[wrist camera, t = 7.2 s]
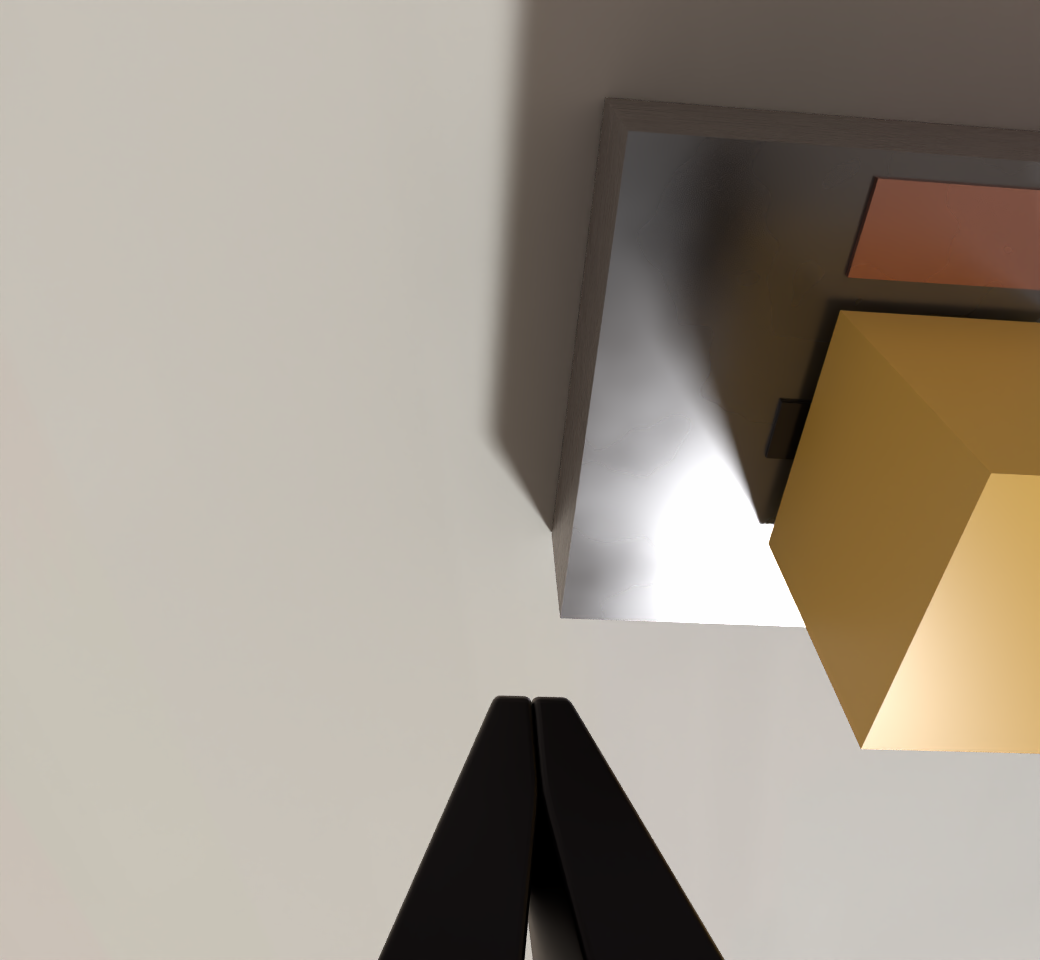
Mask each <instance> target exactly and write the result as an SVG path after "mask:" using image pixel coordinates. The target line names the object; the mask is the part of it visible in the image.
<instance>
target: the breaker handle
mask: <svg viewBox="0 0 1040 960" xmlns="http://www.w3.org/2000/svg"><path fill="white" fill-rule="evenodd" d="M768 545H769V547H770V550H771V552H772V554H773V556H774V558H775V561H776V563H777V565H778V567H779V569H780V572H781V574H782V576H783V578H784V580H785V583H786V585H787V587H788V589H789V592H790V594H791V596H792V598H793V600H794V603H795V605H796V607H797V609H798V611H799V614H800V616H801V618H802V620H803V622H804V625H805V627H806V629H807V631H808V633H809V636H810V638H811V640H812V642H813V644H814V647H815V649H816V651H817V653H818V655H819V658H820V660H821V662H822V664H823V666H824V669H825V671H826V673H827V675H828V677H829V680H830V682H831V684H832V686H833V688H834V691H835V693H836V695H837V697H838V699H839V702H840V704H841V706H842V708H843V710H844V713H845V715H846V717H847V719H848V721H849V724H850V726H851V728H852V730H853V732H854V735H855V737H856V739H857V741H858V744H859V746H860V748H861V749H876V750H916V751H956V752H996V753H1035V754H1040V323H1037V322H1021V321H1005V320H989V319H973V318H957V317H941V316H925V315H908V314H892V313H876V312H860V311H844V310H840V312H839V316H838V319H837V322H836V325H835V329H834V332H833V335H832V338H831V342H830V345H829V348H828V351H827V355H826V358H825V361H824V364H823V367H822V371H821V374H820V377H819V380H818V384H817V387H816V390H815V393H814V397H813V400H812V403H811V406H810V410H809V413H808V416H807V419H806V422H805V426H804V429H803V432H802V435H801V439H800V442H799V445H798V448H797V452H796V455H795V458H794V461H793V465H792V468H791V471H790V474H789V478H788V481H787V484H786V487H785V490H784V494H783V497H782V500H781V503H780V507H779V510H778V513H777V516H776V520H775V523H774V526H773V529H772V533H771V536H770V539H769V542H768Z"/></svg>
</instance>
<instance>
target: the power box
mask: <svg viewBox="0 0 1040 960" xmlns="http://www.w3.org/2000/svg"><path fill="white" fill-rule="evenodd" d="M840 310H844V311H860V312H876V313H892V314H908V315H925V316H941V317H957V318H973V319H989V320H1005V321H1021V322H1037V323H1040V132H1037V131H1025V130H1012V129H999V128H986V127H974V126H961V125H948V124H935V123H923V122H910V121H897V120H884V119H872V118H859V117H846V116H834V115H821V114H808V113H795V112H783V111H770V110H757V109H744V108H732V107H719V106H706V105H693V104H681V103H668V102H655V101H642V100H630V99H617V98H605V103H604V111H603V119H602V128H601V136H600V144H599V152H598V160H597V168H596V177H595V185H594V193H593V201H592V209H591V217H590V226H589V234H588V242H587V250H586V258H585V266H584V275H583V283H582V291H581V299H580V307H579V315H578V323H577V332H576V340H575V348H574V356H573V364H572V372H571V381H570V389H569V397H568V405H567V413H566V421H565V430H564V438H563V446H562V454H561V462H560V470H559V479H558V487H557V495H556V503H555V511H554V519H553V528H552V542H553V552H554V562H555V572H556V582H557V591H558V601H559V611H560V618H573V619H601V620H630V621H658V622H686V623H715V624H743V625H771V626H800V627H805V625H804V622H803V620H802V618H801V616H800V614H799V611H798V609H797V607H796V605H795V603H794V600H793V598H792V596H791V594H790V592H789V589H788V587H787V585H786V583H785V580H784V578H783V576H782V574H781V572H780V569H779V567H778V565H777V563H776V561H775V558H774V556H773V554H772V552H771V550H770V547H769V545H768V542H769V539H770V536H771V533H772V529H773V526H774V523H775V520H776V516H777V513H778V510H779V507H780V503H781V500H782V497H783V494H784V490H785V487H786V484H787V481H788V478H789V474H790V471H791V468H792V465H793V461H794V458H795V455H796V452H797V448H798V445H799V442H800V439H801V435H802V432H803V429H804V426H805V422H806V419H807V416H808V413H809V410H810V406H811V403H812V400H813V397H814V393H815V390H816V387H817V384H818V380H819V377H820V374H821V371H822V367H823V364H824V361H825V358H826V355H827V351H828V348H829V345H830V342H831V338H832V335H833V332H834V329H835V325H836V322H837V319H838V316H839V312H840Z"/></svg>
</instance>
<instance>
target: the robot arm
mask: <svg viewBox="0 0 1040 960" xmlns="http://www.w3.org/2000/svg"><path fill="white" fill-rule="evenodd" d="M528 923H529V931H530V939H531V948H532V956H533V960H724V958H723V956H722V955H721V953H720V951H719V950H718V948H717V946H716V945H715V943H714V941H713V940H712V938H711V936H710V934H709V933H708V931H707V929H706V928H705V926H704V924H703V923H702V921H701V919H700V918H699V916H698V914H697V913H696V911H695V909H694V908H693V906H692V904H691V903H690V901H689V899H688V898H687V896H686V894H685V892H684V891H683V889H682V887H681V886H680V884H679V882H678V881H677V879H676V877H675V876H674V874H673V872H672V871H671V869H670V867H669V866H668V864H667V862H666V861H665V859H664V857H663V856H662V854H661V852H660V850H659V849H658V847H657V845H656V844H655V842H654V840H653V839H652V837H651V835H650V834H649V832H648V830H647V829H646V827H645V825H644V824H643V822H642V820H641V819H640V817H639V815H638V813H637V812H636V810H635V808H634V807H633V805H632V803H631V802H630V800H629V798H628V797H627V795H626V793H625V792H624V790H623V788H622V787H621V785H620V783H619V782H618V780H617V778H616V777H615V775H614V773H613V771H612V770H611V768H610V766H609V765H608V763H607V761H606V760H605V758H604V756H603V755H602V753H601V751H600V750H599V748H598V746H597V745H596V743H595V741H594V740H593V738H592V736H591V735H590V733H589V731H588V729H587V728H586V726H585V724H584V723H583V721H582V719H581V718H580V716H579V714H578V713H577V711H576V709H575V708H574V706H573V704H572V703H571V702H570V701H569V700H568V699H566V698H563V697H536V698H534V699H533V700H532V702H531V700H530V699H529V698H528V697H525V696H497V697H495V699H494V700H493V701H492V703H491V705H490V708H489V710H488V712H487V714H486V717H485V719H484V721H483V723H482V726H481V728H480V730H479V732H478V735H477V737H476V739H475V742H474V744H473V746H472V748H471V751H470V753H469V755H468V757H467V760H466V762H465V764H464V766H463V769H462V771H461V773H460V775H459V778H458V780H457V782H456V785H455V787H454V789H453V791H452V794H451V796H450V798H449V800H448V803H447V805H446V807H445V809H444V812H443V814H442V816H441V818H440V821H439V823H438V825H437V828H436V830H435V832H434V834H433V837H432V839H431V841H430V843H429V846H428V848H427V850H426V852H425V855H424V857H423V859H422V861H421V864H420V866H419V868H418V871H417V873H416V875H415V877H414V880H413V882H412V884H411V886H410V889H409V891H408V893H407V895H406V898H405V900H404V902H403V904H402V907H401V909H400V911H399V914H398V916H397V918H396V920H395V923H394V925H393V927H392V929H391V932H390V934H389V936H388V938H387V941H386V943H385V945H384V947H383V950H382V952H381V954H380V957H379V959H378V960H524V959H525V948H526V938H527V927H528Z"/></svg>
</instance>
